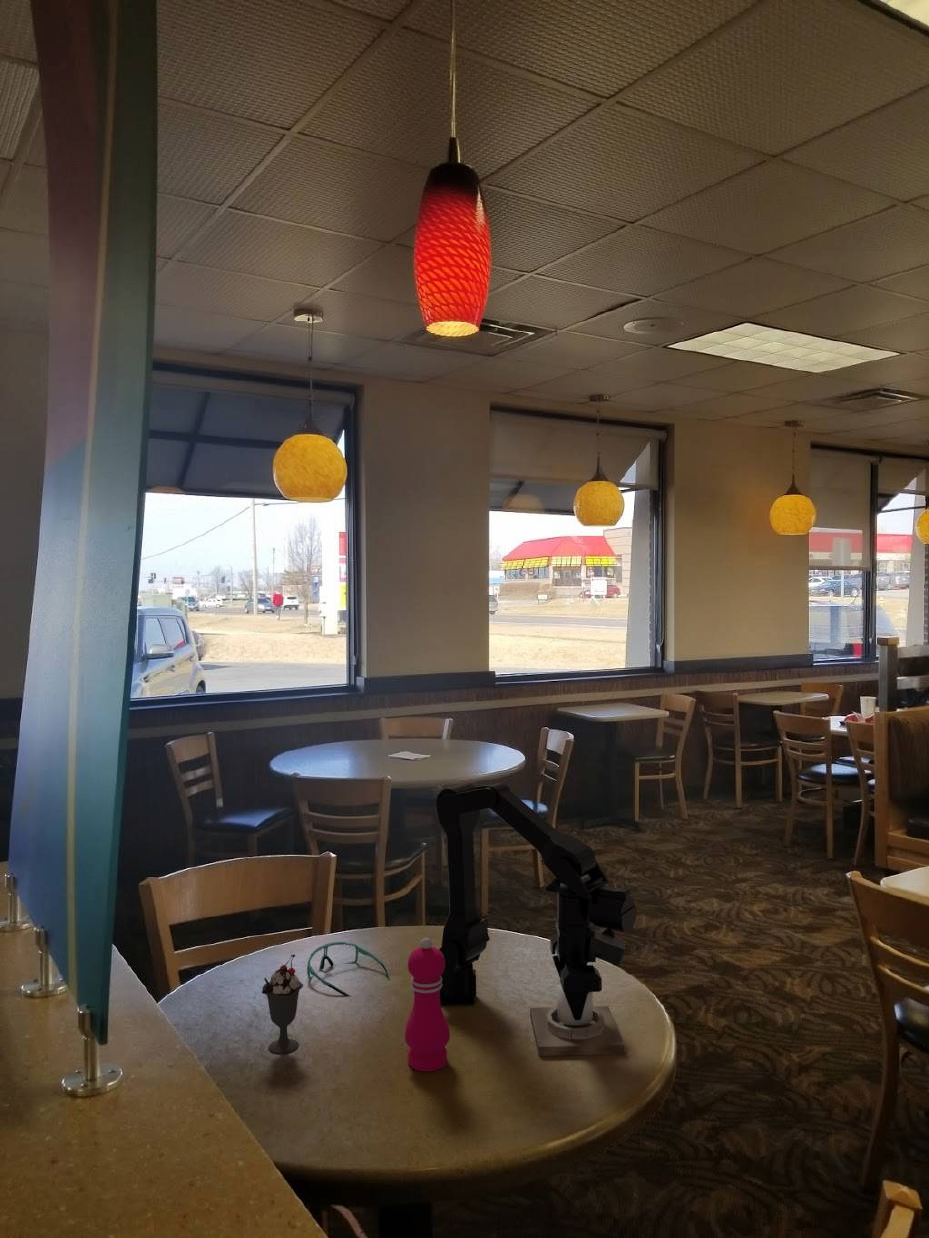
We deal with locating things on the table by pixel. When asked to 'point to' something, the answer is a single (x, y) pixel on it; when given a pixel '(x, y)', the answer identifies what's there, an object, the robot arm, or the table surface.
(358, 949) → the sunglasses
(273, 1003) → the sundae
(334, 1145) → the table surface
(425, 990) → the pepper mill
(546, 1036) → the mount board
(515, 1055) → the table surface
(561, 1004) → the lens
